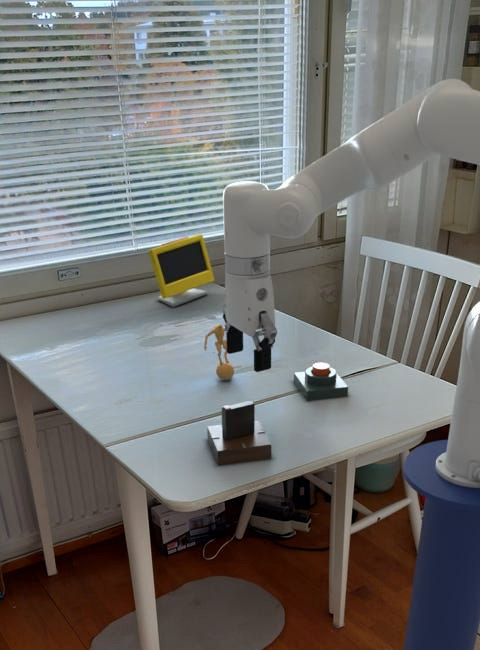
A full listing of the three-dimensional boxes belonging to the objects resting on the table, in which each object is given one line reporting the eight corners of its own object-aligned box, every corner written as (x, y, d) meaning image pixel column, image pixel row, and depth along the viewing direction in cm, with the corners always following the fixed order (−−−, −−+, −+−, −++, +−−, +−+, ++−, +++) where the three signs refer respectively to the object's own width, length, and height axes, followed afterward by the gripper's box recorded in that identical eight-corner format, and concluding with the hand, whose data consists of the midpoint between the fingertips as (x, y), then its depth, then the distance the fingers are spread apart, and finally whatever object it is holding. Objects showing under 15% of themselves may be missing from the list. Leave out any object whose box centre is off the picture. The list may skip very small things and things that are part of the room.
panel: (271, 459, 144) (272, 443, 142) (217, 465, 142) (217, 450, 140) (258, 434, 152) (258, 419, 150) (206, 440, 150) (206, 425, 148)
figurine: (212, 386, 170) (210, 333, 163) (200, 376, 175) (198, 324, 168) (246, 379, 173) (245, 326, 167) (233, 369, 178) (232, 318, 171)
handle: (250, 429, 147) (250, 399, 143) (254, 433, 146) (254, 402, 142) (222, 436, 145) (221, 406, 141) (226, 440, 143) (225, 409, 140)
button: (331, 375, 165) (332, 368, 164) (315, 377, 165) (315, 369, 164) (326, 369, 168) (326, 361, 167) (310, 371, 168) (310, 363, 167)
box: (347, 396, 165) (348, 378, 163) (306, 401, 164) (307, 383, 162) (332, 377, 173) (333, 360, 171) (293, 382, 172) (294, 364, 170)
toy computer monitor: (166, 310, 211) (162, 250, 202) (146, 304, 215) (141, 245, 206) (215, 292, 224) (213, 234, 215) (195, 286, 228) (192, 230, 219)
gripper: (294, 272, 125) (292, 372, 135) (241, 248, 138) (242, 341, 148) (254, 280, 122) (255, 382, 132) (203, 254, 135) (207, 349, 145)
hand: (248, 360), depth 140 cm, fingers open, 9 cm apart
